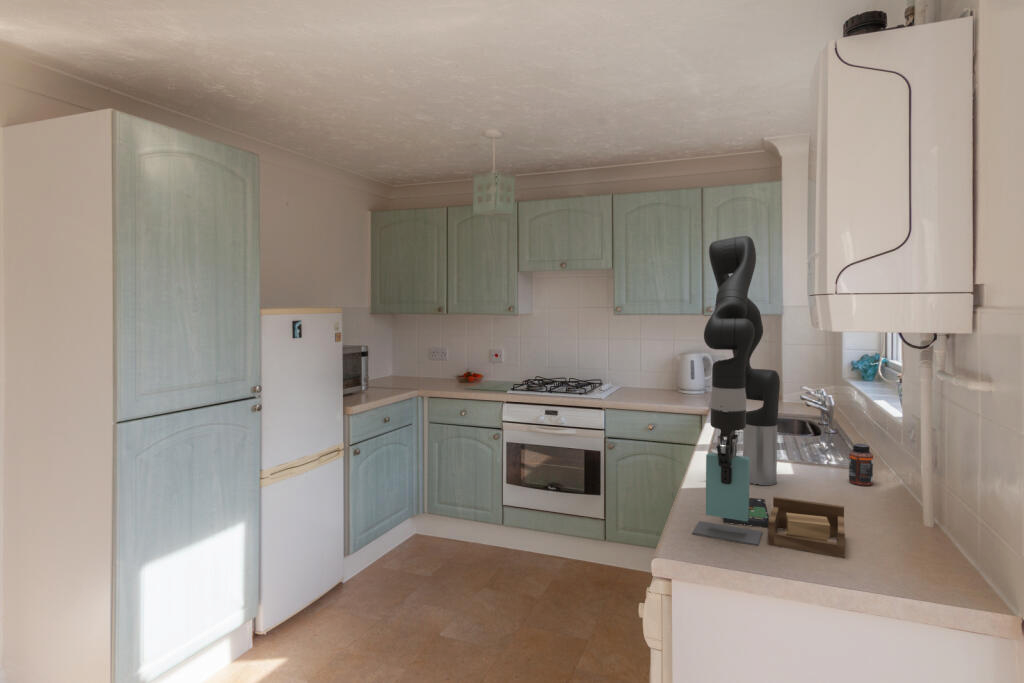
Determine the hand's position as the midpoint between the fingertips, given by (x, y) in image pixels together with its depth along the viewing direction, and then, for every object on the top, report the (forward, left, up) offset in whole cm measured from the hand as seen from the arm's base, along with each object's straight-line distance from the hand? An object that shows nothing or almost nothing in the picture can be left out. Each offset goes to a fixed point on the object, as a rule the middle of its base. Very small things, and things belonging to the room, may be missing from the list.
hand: (727, 481), depth 130 cm
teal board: (0, 0, -8) cm, 8 cm away
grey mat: (0, 0, -12) cm, 12 cm away
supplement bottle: (-56, +28, -12) cm, 64 cm away
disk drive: (-15, +2, -13) cm, 19 cm away
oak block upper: (-2, +16, -9) cm, 19 cm away
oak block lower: (-2, +16, -12) cm, 20 cm away
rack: (-4, +16, -12) cm, 21 cm away
